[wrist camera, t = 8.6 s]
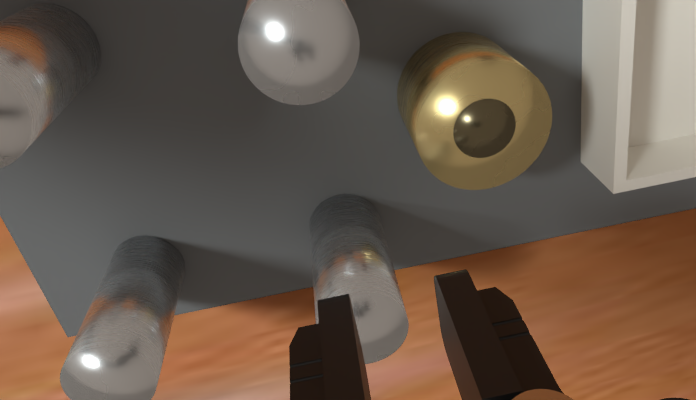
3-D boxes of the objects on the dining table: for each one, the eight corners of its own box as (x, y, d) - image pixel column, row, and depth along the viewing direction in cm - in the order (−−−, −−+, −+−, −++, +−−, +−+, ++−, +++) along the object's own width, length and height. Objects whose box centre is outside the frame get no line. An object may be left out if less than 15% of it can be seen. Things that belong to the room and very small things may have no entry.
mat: (-116, -11, 21) (-124, -8, 20) (840, -212, 21) (852, -214, 20) (70, 330, 29) (67, 337, 28) (765, 187, 28) (772, 192, 28)
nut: (390, 43, 23) (409, 74, 19) (512, 21, 23) (553, 49, 19) (403, 155, 25) (422, 201, 22) (514, 135, 25) (551, 177, 22)
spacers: (-8, 13, 21) (-127, 70, 15) (329, -58, 21) (348, -29, 15) (126, 299, 28) (82, 422, 21) (385, 247, 27) (413, 354, 21)
